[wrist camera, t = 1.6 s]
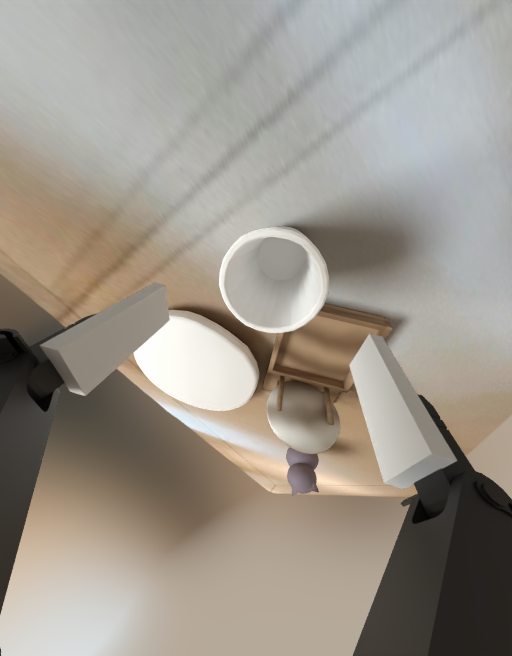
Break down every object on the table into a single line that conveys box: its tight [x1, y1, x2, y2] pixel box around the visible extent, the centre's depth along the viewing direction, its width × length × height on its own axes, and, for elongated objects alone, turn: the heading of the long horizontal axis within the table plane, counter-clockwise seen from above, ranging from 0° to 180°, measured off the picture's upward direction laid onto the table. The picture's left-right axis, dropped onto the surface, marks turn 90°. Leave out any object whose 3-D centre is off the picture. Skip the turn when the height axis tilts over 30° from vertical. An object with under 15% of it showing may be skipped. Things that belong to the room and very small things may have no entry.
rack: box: [262, 304, 393, 454], centre depth 31 cm, size 23×15×14 cm
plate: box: [134, 310, 259, 411], centre depth 41 cm, size 28×6×27 cm
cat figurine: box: [286, 448, 319, 495], centre depth 49 cm, size 8×8×12 cm
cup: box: [219, 226, 329, 333], centre depth 22 cm, size 10×10×13 cm
